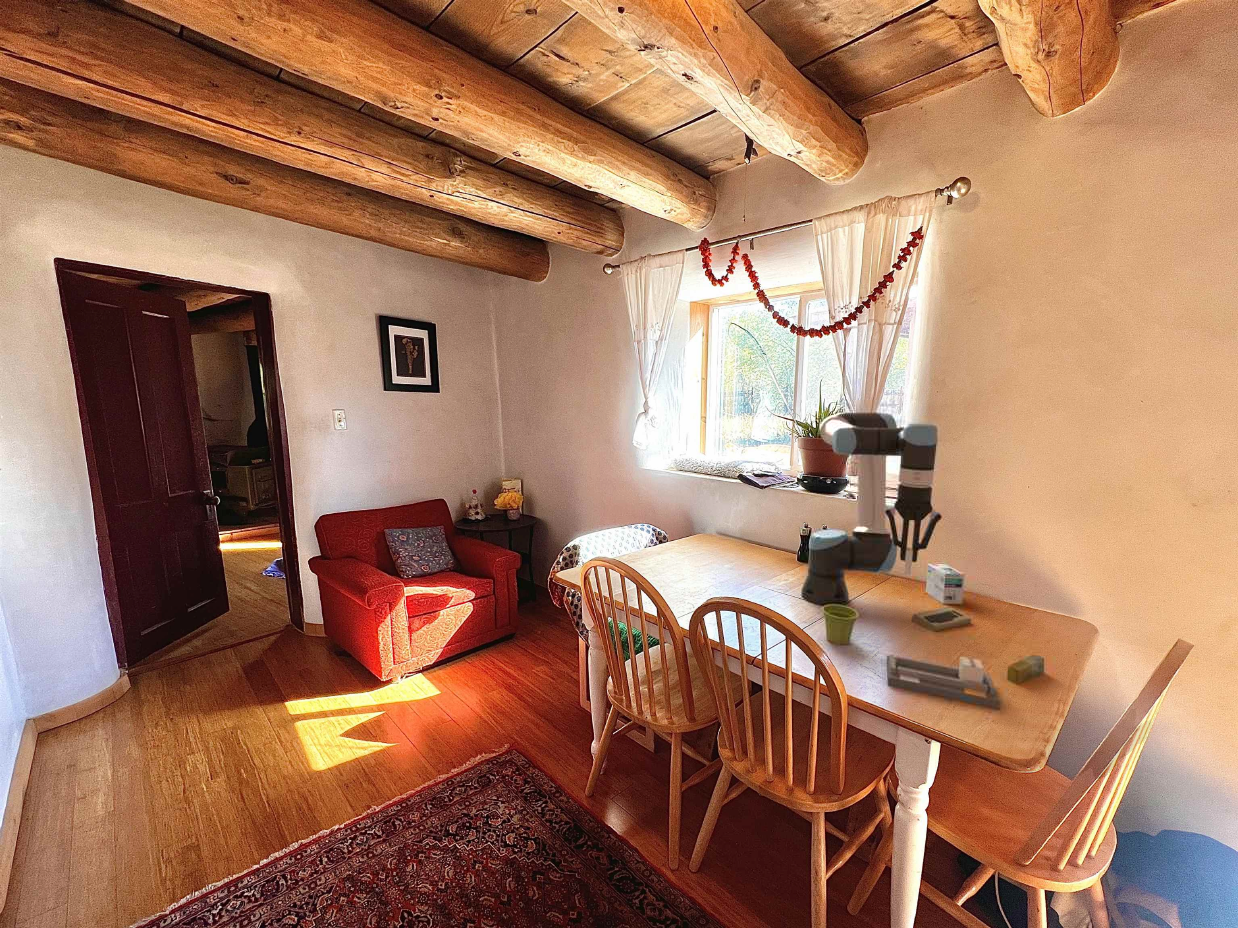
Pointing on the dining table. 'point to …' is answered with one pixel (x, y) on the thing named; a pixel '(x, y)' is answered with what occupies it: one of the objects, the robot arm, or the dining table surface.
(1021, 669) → the medication box
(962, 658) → the white cardboard box
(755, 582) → the dining table surface
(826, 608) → the plant pot
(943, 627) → the computer
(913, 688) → the grey tray
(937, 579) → the light bulb box
